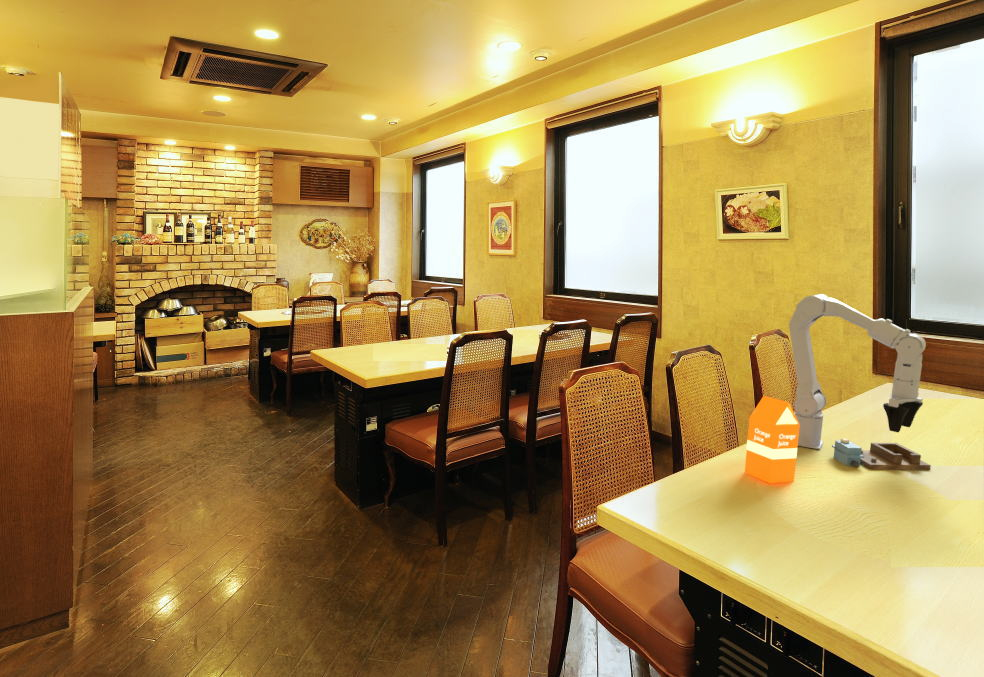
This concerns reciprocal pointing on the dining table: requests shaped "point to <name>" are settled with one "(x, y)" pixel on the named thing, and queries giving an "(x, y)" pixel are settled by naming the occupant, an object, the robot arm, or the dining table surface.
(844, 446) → the block
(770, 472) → the orange juice
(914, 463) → the board
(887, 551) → the dining table surface
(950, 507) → the dining table surface
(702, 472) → the dining table surface
